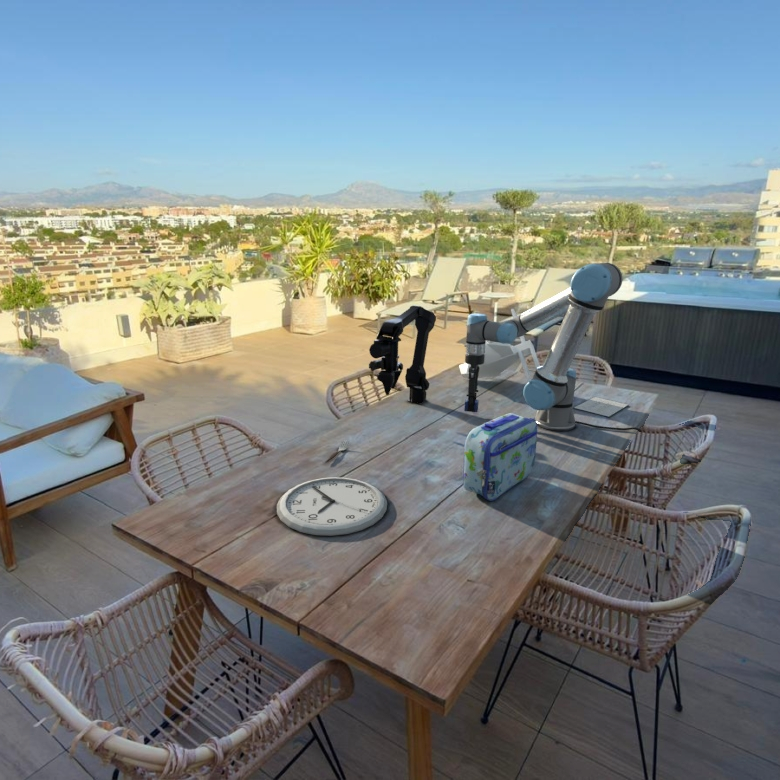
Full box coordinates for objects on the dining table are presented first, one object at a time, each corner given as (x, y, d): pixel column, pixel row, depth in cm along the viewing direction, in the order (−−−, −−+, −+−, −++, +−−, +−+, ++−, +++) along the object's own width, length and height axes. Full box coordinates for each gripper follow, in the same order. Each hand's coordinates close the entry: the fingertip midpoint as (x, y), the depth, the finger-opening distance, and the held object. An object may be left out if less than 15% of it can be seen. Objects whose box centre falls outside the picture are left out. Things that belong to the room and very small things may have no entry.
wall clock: (392, 527, 129) (268, 531, 127) (391, 533, 130) (269, 537, 127) (383, 473, 158) (282, 475, 155) (383, 478, 158) (282, 480, 156)
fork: (322, 463, 168) (321, 457, 167) (343, 444, 182) (343, 439, 181) (329, 464, 167) (329, 458, 166) (349, 446, 181) (349, 440, 180)
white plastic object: (480, 422, 262) (459, 399, 237) (462, 348, 284) (440, 320, 259) (552, 397, 249) (538, 371, 225) (527, 322, 271) (511, 291, 247)
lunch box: (487, 508, 142) (493, 436, 136) (456, 493, 150) (460, 425, 143) (537, 478, 160) (544, 414, 154) (507, 466, 167) (513, 405, 161)
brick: (465, 407, 215) (466, 398, 214) (478, 409, 214) (478, 399, 213) (464, 411, 211) (464, 401, 210) (477, 412, 210) (477, 402, 209)
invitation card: (608, 416, 214) (573, 407, 224) (608, 416, 214) (573, 408, 224) (628, 404, 229) (594, 396, 238) (628, 405, 229) (594, 397, 238)
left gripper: (377, 347, 216) (377, 383, 221) (364, 357, 199) (364, 396, 203) (403, 349, 213) (402, 385, 218) (392, 359, 196) (391, 399, 201)
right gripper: (468, 348, 215) (464, 402, 221) (462, 357, 199) (459, 415, 205) (486, 349, 213) (482, 403, 220) (482, 359, 197) (478, 417, 204)
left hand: (390, 391), depth 210 cm, fingers open, 9 cm apart
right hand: (471, 409), depth 213 cm, fingers closed on brick, 4 cm apart
